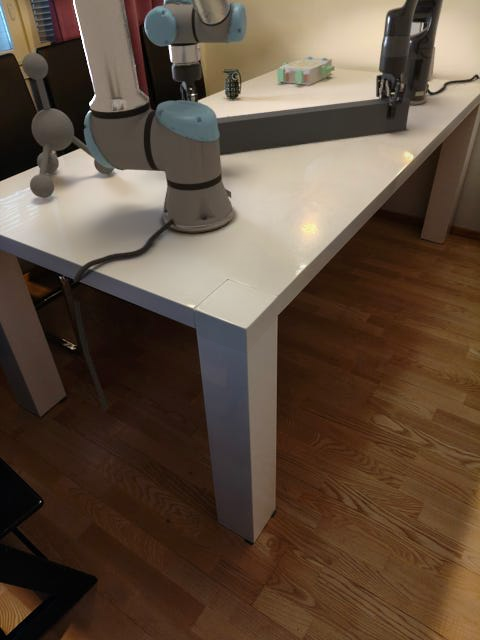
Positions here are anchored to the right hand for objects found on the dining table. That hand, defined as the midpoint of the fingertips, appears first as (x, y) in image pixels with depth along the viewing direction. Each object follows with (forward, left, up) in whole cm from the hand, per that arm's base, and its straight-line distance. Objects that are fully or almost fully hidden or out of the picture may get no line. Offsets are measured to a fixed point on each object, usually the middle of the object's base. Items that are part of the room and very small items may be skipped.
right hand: (386, 116), depth 146 cm
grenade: (-19, -63, -4) cm, 66 cm away
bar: (+20, -22, -4) cm, 30 cm away
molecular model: (+67, -63, -4) cm, 93 cm away
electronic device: (-67, -6, -4) cm, 67 cm away
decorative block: (-57, -49, -4) cm, 75 cm away
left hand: (+39, -44, -3) cm, 59 cm away
